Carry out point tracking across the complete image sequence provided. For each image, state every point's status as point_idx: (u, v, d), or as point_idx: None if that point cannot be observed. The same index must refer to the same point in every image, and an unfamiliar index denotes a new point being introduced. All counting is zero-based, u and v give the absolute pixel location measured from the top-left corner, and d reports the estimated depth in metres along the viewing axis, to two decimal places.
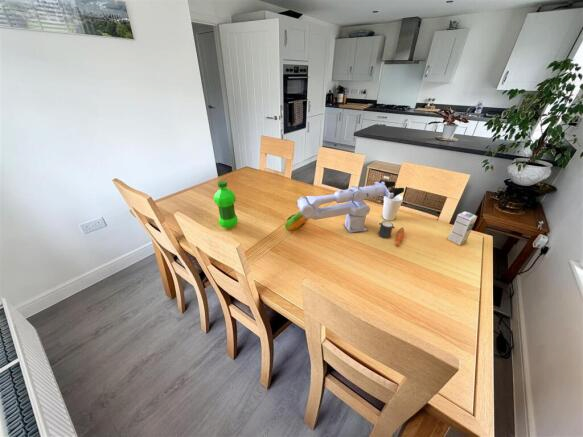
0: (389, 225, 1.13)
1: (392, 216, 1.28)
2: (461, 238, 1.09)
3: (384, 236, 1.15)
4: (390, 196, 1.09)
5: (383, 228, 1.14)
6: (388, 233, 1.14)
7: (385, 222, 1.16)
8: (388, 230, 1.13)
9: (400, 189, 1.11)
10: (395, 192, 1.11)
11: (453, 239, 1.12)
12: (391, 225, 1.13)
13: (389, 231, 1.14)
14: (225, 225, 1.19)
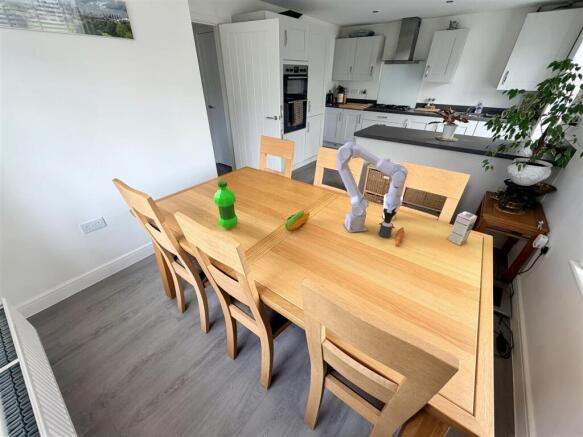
0: (389, 225, 1.13)
1: None
2: (461, 238, 1.09)
3: (384, 236, 1.15)
4: (389, 209, 1.03)
5: (383, 228, 1.14)
6: (388, 233, 1.14)
7: None
8: (388, 230, 1.13)
9: (389, 220, 1.08)
10: (388, 215, 1.08)
11: (453, 239, 1.12)
12: (391, 225, 1.13)
13: (389, 231, 1.14)
14: (225, 225, 1.19)
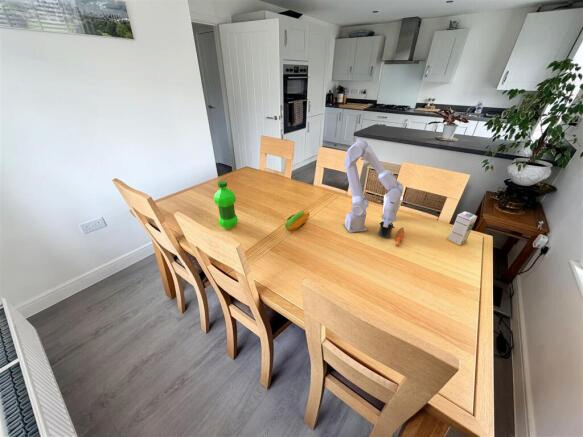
0: None
1: None
2: (461, 238, 1.09)
3: (384, 236, 1.15)
4: (385, 224, 1.07)
5: None
6: (388, 233, 1.14)
7: None
8: None
9: (386, 232, 1.13)
10: (385, 228, 1.12)
11: (453, 239, 1.12)
12: None
13: (389, 231, 1.14)
14: (225, 225, 1.19)
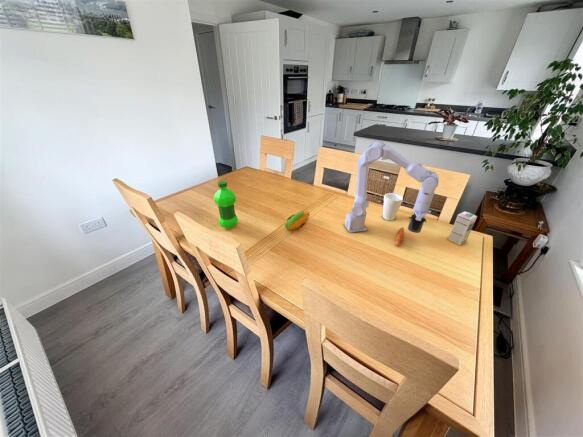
0: None
1: (392, 216, 1.28)
2: (461, 238, 1.09)
3: (414, 231, 1.06)
4: (418, 217, 0.99)
5: None
6: (419, 227, 1.05)
7: None
8: None
9: (417, 227, 1.04)
10: (416, 221, 1.03)
11: (453, 239, 1.12)
12: None
13: (420, 225, 1.05)
14: (225, 225, 1.19)
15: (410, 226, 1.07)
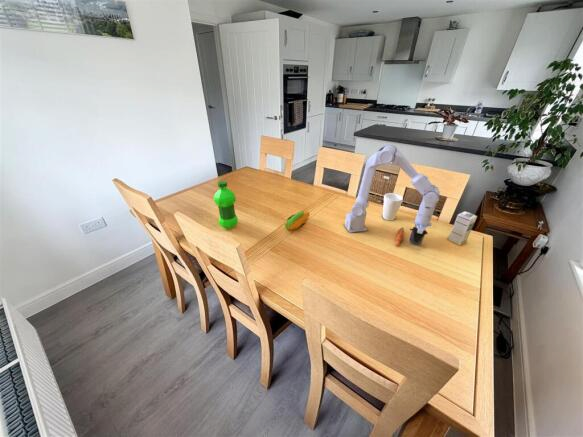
0: None
1: (392, 216, 1.28)
2: (461, 238, 1.09)
3: (416, 242, 1.09)
4: (419, 230, 1.01)
5: None
6: None
7: None
8: None
9: (419, 239, 1.06)
10: (417, 234, 1.06)
11: (453, 239, 1.12)
12: None
13: (422, 237, 1.07)
14: (225, 225, 1.19)
15: (411, 238, 1.10)
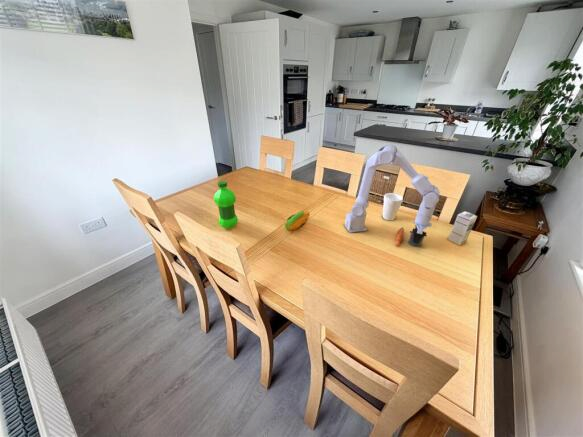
0: None
1: (392, 216, 1.28)
2: (461, 238, 1.09)
3: (415, 245, 1.09)
4: (419, 230, 1.01)
5: None
6: (420, 242, 1.08)
7: None
8: None
9: (418, 240, 1.06)
10: (417, 235, 1.05)
11: (453, 239, 1.12)
12: None
13: (421, 240, 1.08)
14: (225, 225, 1.19)
15: (411, 240, 1.10)
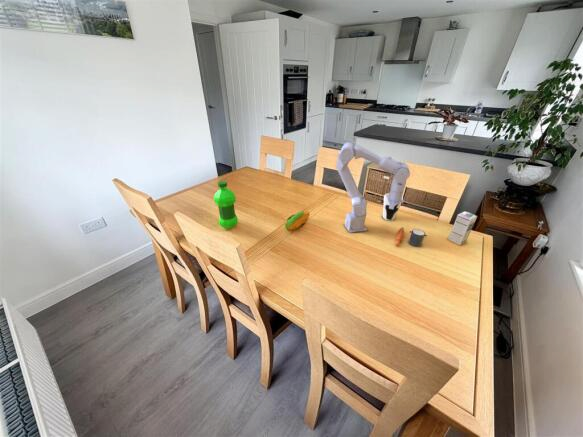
0: (421, 234, 1.07)
1: None
2: (461, 238, 1.09)
3: (415, 245, 1.09)
4: (391, 206, 1.05)
5: (414, 236, 1.08)
6: (420, 242, 1.08)
7: (416, 230, 1.10)
8: (420, 239, 1.07)
9: (391, 216, 1.10)
10: (390, 211, 1.09)
11: (453, 239, 1.12)
12: (423, 233, 1.08)
13: (421, 240, 1.08)
14: (225, 225, 1.19)
15: (411, 240, 1.10)
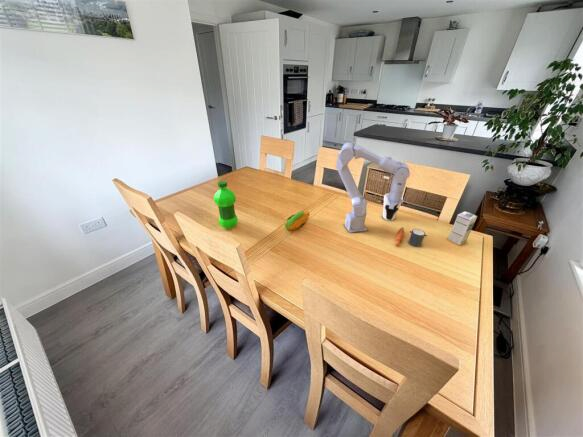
0: (421, 234, 1.07)
1: None
2: (461, 238, 1.09)
3: (415, 245, 1.09)
4: (391, 205, 1.05)
5: (414, 236, 1.08)
6: (420, 242, 1.08)
7: (416, 230, 1.10)
8: (420, 239, 1.07)
9: (391, 216, 1.10)
10: (390, 211, 1.09)
11: (453, 239, 1.12)
12: (423, 233, 1.08)
13: (421, 240, 1.08)
14: (225, 225, 1.19)
15: (411, 240, 1.10)
